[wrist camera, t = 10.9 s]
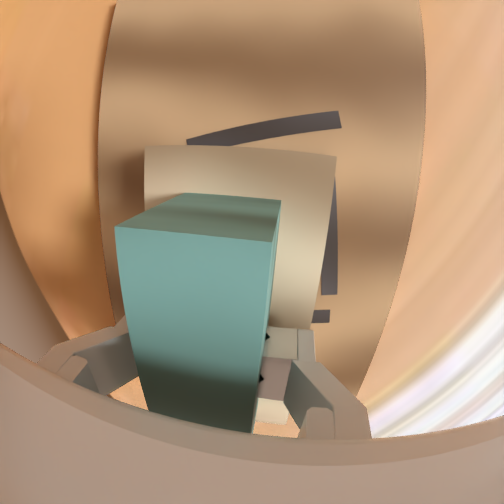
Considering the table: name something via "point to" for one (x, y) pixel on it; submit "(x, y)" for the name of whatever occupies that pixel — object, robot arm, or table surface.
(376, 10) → the wooden board
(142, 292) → the block
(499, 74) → the table surface
